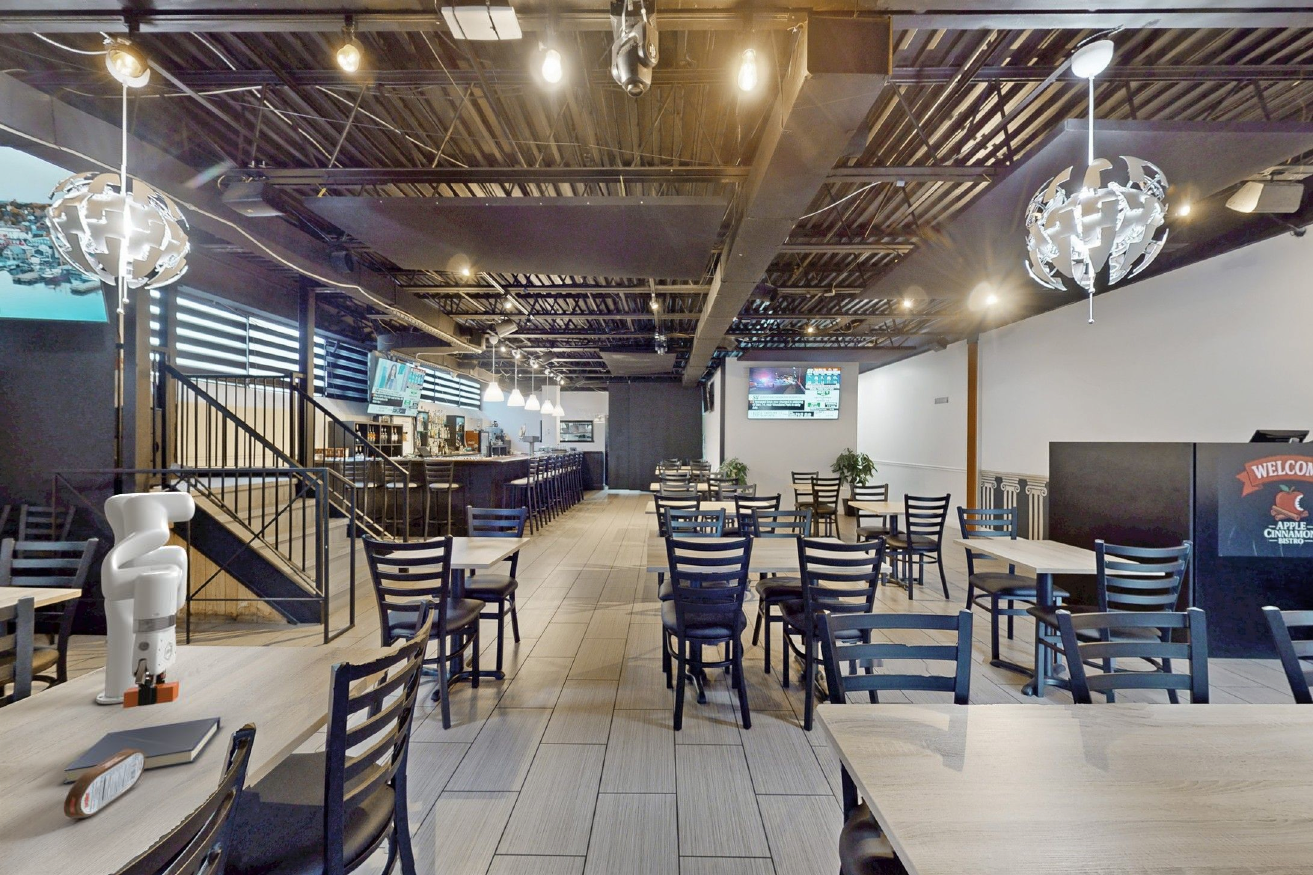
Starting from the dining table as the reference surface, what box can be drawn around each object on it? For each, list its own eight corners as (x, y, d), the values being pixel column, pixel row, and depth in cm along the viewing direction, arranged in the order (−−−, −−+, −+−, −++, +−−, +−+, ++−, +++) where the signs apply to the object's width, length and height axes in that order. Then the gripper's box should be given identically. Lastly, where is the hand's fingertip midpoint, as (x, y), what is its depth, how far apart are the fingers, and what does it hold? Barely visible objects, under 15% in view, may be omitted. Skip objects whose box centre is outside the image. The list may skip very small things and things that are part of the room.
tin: (133, 779, 114) (134, 740, 114) (148, 779, 114) (150, 739, 115) (60, 828, 99) (62, 783, 99) (78, 828, 99) (81, 782, 100)
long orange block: (130, 702, 124) (130, 687, 124) (178, 696, 127) (179, 681, 128) (123, 708, 121) (123, 692, 121) (172, 701, 125) (173, 686, 125)
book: (107, 745, 127) (108, 732, 127) (220, 728, 136) (220, 716, 136) (63, 784, 112) (64, 770, 112) (192, 762, 121) (193, 749, 121)
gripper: (158, 631, 119) (154, 714, 118) (189, 611, 134) (186, 684, 133) (114, 635, 116) (110, 720, 115) (151, 615, 131) (148, 689, 130)
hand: (151, 700), depth 124 cm, fingers closed on long orange block, 3 cm apart
